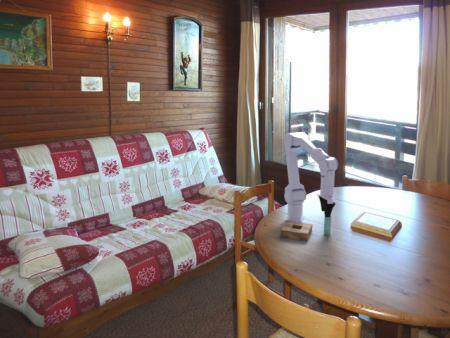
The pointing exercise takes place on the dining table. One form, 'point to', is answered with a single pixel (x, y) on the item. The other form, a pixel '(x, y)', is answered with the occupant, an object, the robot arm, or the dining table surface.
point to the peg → (327, 226)
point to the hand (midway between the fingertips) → (325, 214)
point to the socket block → (296, 231)
